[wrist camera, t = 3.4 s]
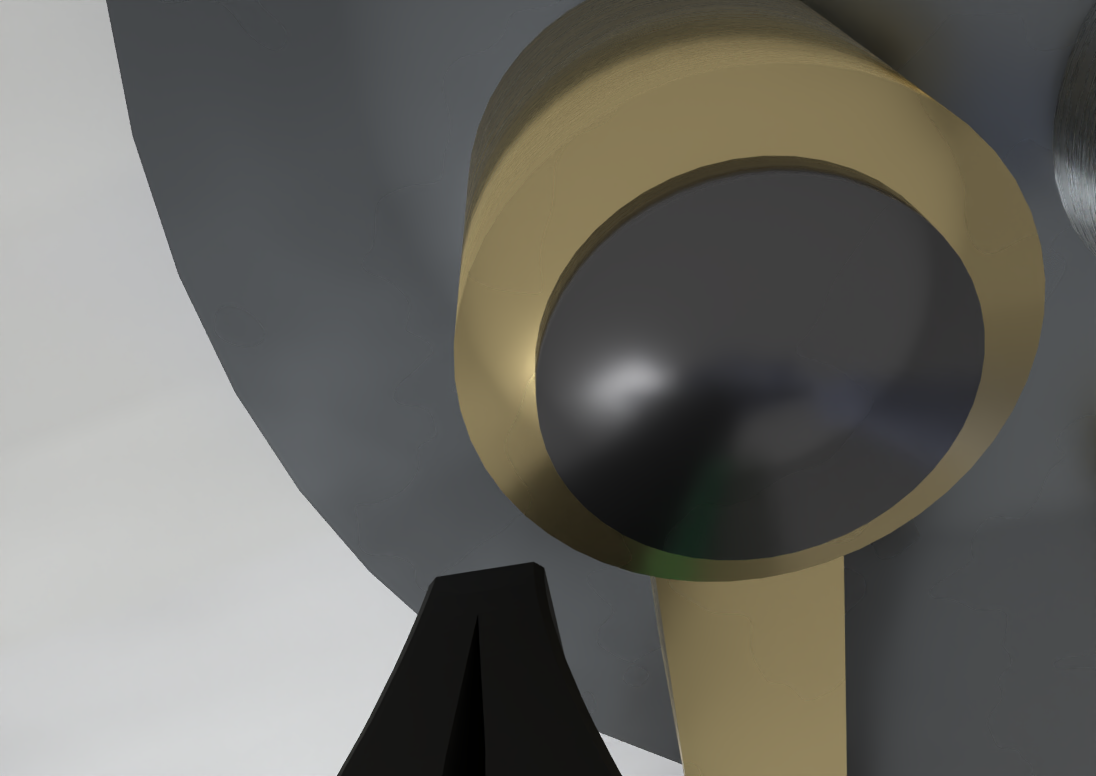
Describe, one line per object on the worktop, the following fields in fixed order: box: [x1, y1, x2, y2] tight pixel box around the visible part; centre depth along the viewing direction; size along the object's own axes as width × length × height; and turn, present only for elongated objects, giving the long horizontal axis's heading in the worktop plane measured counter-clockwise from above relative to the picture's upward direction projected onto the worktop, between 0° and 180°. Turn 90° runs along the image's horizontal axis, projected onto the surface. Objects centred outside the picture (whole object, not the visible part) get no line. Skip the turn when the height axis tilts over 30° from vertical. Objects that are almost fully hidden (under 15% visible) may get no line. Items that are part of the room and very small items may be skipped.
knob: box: [454, 0, 1045, 776], centre depth 10 cm, size 8×4×4 cm, turn 10°
